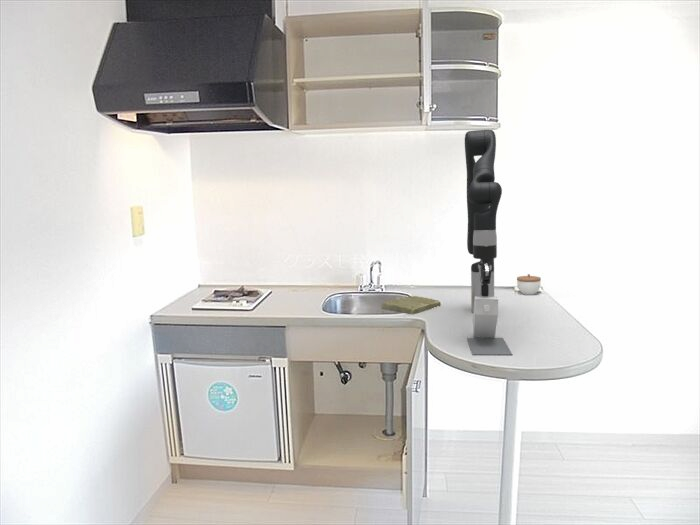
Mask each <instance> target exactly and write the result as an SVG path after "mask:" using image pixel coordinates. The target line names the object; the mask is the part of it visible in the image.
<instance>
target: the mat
mask: <svg viewBox="0 0 700 525" xmlns="http://www.w3.org/2000/svg"><path fill="white" fill-rule="evenodd" d="M466 340H467V343H468V346H469V349H470V351H471V355H472V356H513V353H512V351H511V350H510V348H509V346H508V344H507V343H506V340H505V339H504V337H494V338H487V337H466Z"/></svg>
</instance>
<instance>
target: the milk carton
mask: <svg viewBox="0 0 700 525" xmlns="http://www.w3.org/2000/svg"><path fill="white" fill-rule="evenodd" d="M472 314H473V315H472V331H473V333H472V336H473V337H472V338H496V332H497V330H496V329H497V325H498V319H499V318H498V317H499V316H498V315H499V298H498V296H494V297H483V296H475V300H474V312H472Z"/></svg>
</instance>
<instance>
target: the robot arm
mask: <svg viewBox="0 0 700 525" xmlns="http://www.w3.org/2000/svg"><path fill="white" fill-rule="evenodd" d="M464 135H465V136H464V153H465V154H464V156H465V166H466V168H465V169H466V209H467V233H466V234H467V236H466V237H467V238H466V242H467V244H466V248H467V251H468V252H467V253H468V254H470V255H472V257H473V259H476V260H479V261H476V262H474V263H472V264H471V266H470V276H471V277H470V280H471V282H470V283H471V284H470V285H471V286H470V288H471V290H470V292H471V300H470V302H471V304H470V305H471V307H470V308H471V311H470V312H471V313H473V312H474V300H475V296H483V297H495V259H496V258H497V257H498V256H497V255H498V254H497V253H498V252H497V251H498V249H497V247H498V246H497V245H498V243H497V240H498V238H497V215H498V214H497V211H498V208H499V204H500V201H501V198H502V192H503V189H502V186H501V184H500V183H499V182H496V181H495V178H496V177H495V160H496V150H497V140H496V139H497V138H496V133H495V131H494V130H493V129H479V130H477V129H476V130H470V131H469V130H468V131H467V132H465V134H464ZM476 156H477V157H479V156H480V157H479V158H478V159H477V160H475V159H476V158H475V157H476Z"/></svg>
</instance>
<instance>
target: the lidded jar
mask: <svg viewBox="0 0 700 525" xmlns="http://www.w3.org/2000/svg"><path fill="white" fill-rule="evenodd" d="M516 280H517V282H516V283H517V288H518V291H519V292H521V294H522V295H525V296H533V295H536V293H538V291H539V290H540V288H541V277H540V276H536V275H531V274H529V273H528V274H527V275H521V276H517V277H516Z"/></svg>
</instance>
